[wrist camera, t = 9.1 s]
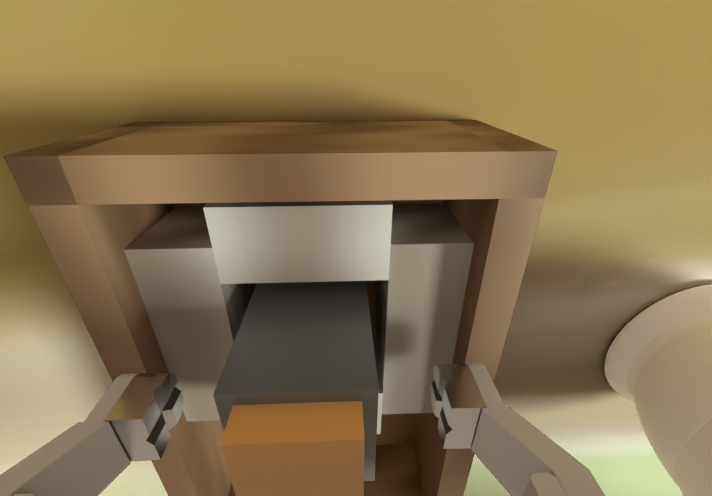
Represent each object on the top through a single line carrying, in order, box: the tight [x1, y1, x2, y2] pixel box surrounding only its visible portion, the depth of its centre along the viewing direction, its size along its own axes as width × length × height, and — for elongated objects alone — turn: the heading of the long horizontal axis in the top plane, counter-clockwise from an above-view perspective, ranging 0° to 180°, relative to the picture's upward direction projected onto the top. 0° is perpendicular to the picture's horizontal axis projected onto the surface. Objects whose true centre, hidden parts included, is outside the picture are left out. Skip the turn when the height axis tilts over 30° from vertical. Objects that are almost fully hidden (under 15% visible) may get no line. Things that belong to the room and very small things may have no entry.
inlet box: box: [4, 120, 558, 496], centre depth 15 cm, size 13×20×6 cm, turn 0°
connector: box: [213, 281, 379, 496], centre depth 12 cm, size 4×4×8 cm
